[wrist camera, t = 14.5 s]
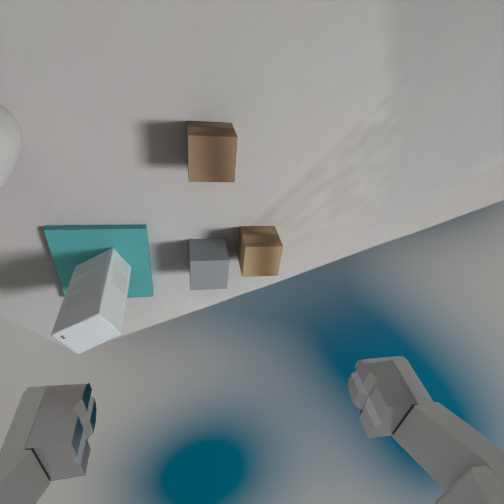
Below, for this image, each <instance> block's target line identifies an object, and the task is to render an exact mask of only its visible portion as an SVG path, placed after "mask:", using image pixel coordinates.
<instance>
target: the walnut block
mask: <svg viewBox="0 0 504 504" xmlns="http://www.w3.org/2000/svg"><path fill="white" fill-rule="evenodd" d="M236 151H237V135H236V133H235V130H234V128H233V125H232V123H223V122H201V121H187V154H188V178H189V182H234V180H235V165H236Z"/></svg>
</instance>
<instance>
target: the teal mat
mask: <svg viewBox="0 0 504 504" xmlns="http://www.w3.org/2000/svg"><path fill="white" fill-rule="evenodd" d="M44 233H45V236H46V240H47V243H48V246H49V249H50V252H51V255H52V258H53V262H54V265H55V268H56V271H57V274H58V277H59V281H60V284H61V287H62V290H63V293H64V296H65V294H66V292H67V289H68V286H69V283H70V280H71V277H72V275H73V272H74V269H75V266H76V265H78V264H80V263H83V262H85V261H87V260H89V259H91V258H93V257H95V256H97V255H99V254H101V253H103V252H105V251H107V250H109V249H111V248H114V249H115V250H116V251H117V252H118V254H119V255H120V256H121V257H122V258H123V259H124V260H125V261H126V262H127V263H128V264H129V265H130V266H131V274H130V281H129V287H128V294H127V298H130V297H150V296H153V284H152V275H151V265H150V256H149V246H148V237H147V227H146V225H73V226H46V227H45V228H44Z"/></svg>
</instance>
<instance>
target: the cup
mask: <svg viewBox="0 0 504 504" xmlns="http://www.w3.org/2000/svg"><path fill="white" fill-rule="evenodd" d="M21 147H22V130H21V127H20V124H19V122H18V120H17V119H16V117H15V116H14V115H13V114H12V113H11V112H10V111H9V110H8V109H6V108H5V107H3V106H1V105H0V189H1V187H2V186H3V185H4V183H5V182H6V180H7V179H8V177H9V176H10V175H11V173H12V172H13V169H14V167H15V164H16V162H17V159H18V157H19V154H20V152H21Z"/></svg>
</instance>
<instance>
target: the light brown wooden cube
mask: <svg viewBox="0 0 504 504" xmlns="http://www.w3.org/2000/svg"><path fill="white" fill-rule="evenodd" d="M282 249H283V245H282V243H281V240H280V238H279V235H278V233H277V231H276V228H275V226H240V232H239V243H238V254H237V256H238V260H239V264H240V269H241V273H242V277H249V276H276V275H278V271H279V265H280V260H281V255H282Z"/></svg>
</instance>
